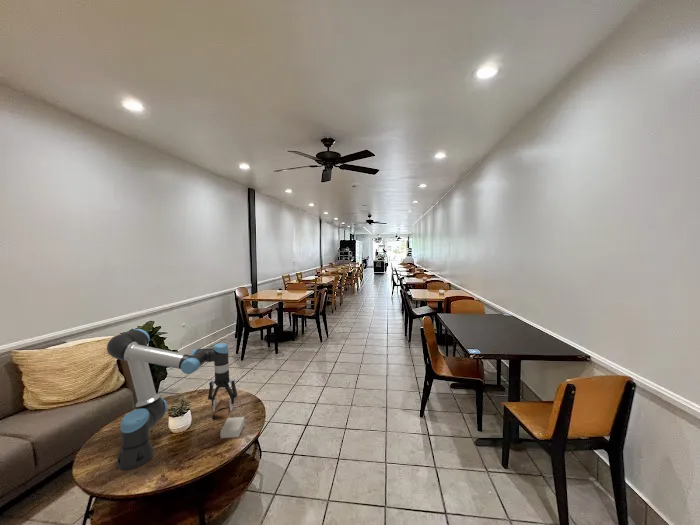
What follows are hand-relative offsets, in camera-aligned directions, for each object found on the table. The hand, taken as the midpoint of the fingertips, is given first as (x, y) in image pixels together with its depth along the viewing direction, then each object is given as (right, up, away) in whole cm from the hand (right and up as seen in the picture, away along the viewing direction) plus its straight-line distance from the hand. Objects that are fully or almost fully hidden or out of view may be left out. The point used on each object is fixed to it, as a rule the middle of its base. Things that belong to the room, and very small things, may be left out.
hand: (223, 410), depth 164 cm
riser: (+3, -16, +7) cm, 18 cm away
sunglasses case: (0, -1, 0) cm, 1 cm away
